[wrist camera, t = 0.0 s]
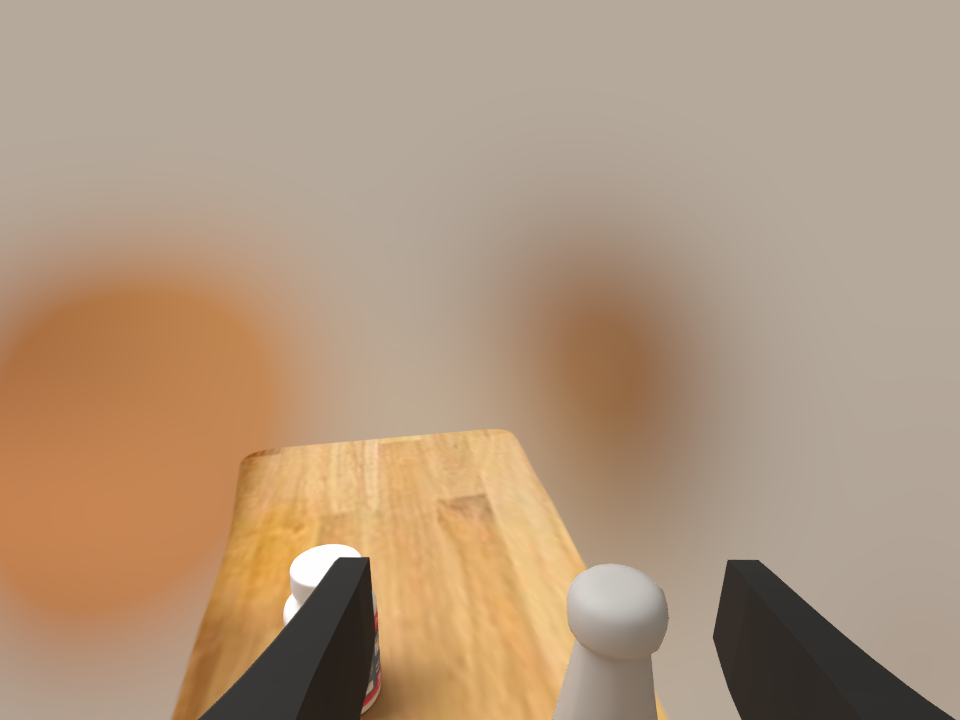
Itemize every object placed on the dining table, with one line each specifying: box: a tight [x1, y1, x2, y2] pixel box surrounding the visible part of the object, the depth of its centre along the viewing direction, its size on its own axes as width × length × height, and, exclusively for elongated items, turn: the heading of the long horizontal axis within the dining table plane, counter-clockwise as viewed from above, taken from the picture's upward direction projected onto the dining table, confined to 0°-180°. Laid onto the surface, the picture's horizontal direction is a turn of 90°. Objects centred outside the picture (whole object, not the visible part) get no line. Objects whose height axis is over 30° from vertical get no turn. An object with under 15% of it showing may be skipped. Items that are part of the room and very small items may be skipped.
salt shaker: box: [552, 564, 669, 720], centre depth 28 cm, size 6×6×13 cm
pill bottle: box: [283, 544, 381, 714], centre depth 36 cm, size 5×5×9 cm
